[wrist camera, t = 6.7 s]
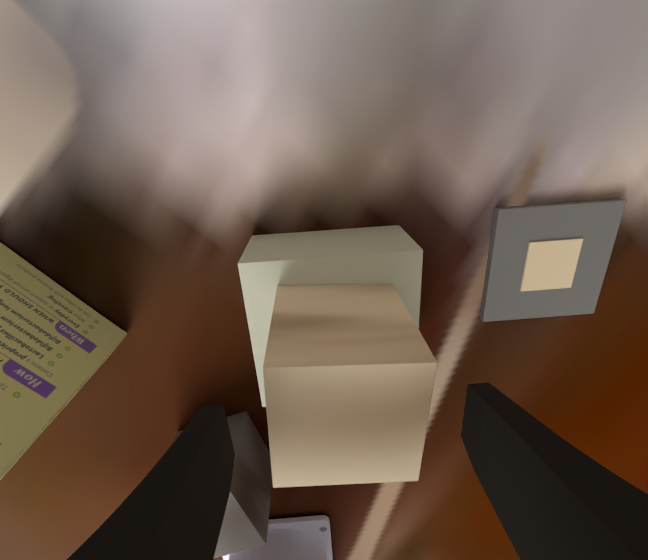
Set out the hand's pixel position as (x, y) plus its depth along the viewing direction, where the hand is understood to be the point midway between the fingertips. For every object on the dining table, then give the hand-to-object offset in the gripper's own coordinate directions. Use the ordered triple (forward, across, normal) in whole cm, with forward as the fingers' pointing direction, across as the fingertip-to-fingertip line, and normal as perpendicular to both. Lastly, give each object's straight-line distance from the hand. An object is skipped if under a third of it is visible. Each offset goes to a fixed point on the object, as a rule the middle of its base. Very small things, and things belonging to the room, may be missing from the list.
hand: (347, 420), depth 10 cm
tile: (+8, -11, -1) cm, 14 cm away
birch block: (+4, 0, 0) cm, 5 cm away
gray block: (+8, +7, +10) cm, 15 cm away
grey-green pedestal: (+8, 0, 0) cm, 9 cm away
